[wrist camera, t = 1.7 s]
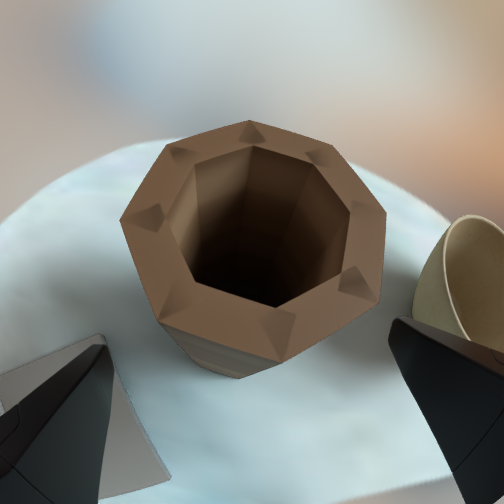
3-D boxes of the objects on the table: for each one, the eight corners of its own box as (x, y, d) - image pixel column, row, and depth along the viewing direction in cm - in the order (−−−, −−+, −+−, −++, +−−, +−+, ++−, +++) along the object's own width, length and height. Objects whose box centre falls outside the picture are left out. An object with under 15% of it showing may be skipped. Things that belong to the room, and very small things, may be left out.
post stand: (171, 476, 14) (155, 506, 9) (54, 504, 11) (16, 525, 6) (103, 335, 17) (67, 315, 12) (0, 378, 14) (-46, 368, 9)
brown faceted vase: (298, 347, 18) (425, 268, 7) (212, 391, 16) (197, 405, 5) (253, 268, 20) (298, 108, 9) (170, 306, 19) (104, 168, 7)
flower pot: (429, 238, 23) (478, 193, 17) (487, 323, 20) (544, 297, 14) (359, 302, 20) (416, 261, 14) (430, 404, 17) (500, 398, 11)
